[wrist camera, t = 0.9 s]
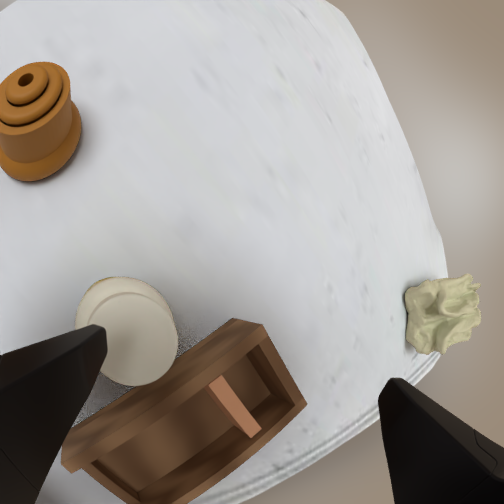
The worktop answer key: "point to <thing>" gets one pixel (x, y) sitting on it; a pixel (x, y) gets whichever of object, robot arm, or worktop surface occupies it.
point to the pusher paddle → (232, 406)
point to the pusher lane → (187, 421)
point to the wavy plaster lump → (441, 313)
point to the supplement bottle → (131, 329)
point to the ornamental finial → (37, 121)
